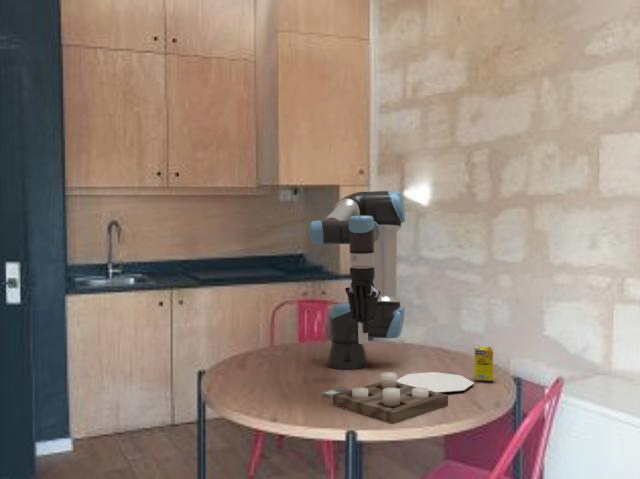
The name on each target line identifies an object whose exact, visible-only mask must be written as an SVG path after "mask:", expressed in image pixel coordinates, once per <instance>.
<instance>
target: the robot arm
mask: <svg viewBox="0 0 640 479" xmlns="http://www.w3.org/2000/svg"><path fill="white" fill-rule="evenodd" d="M405 222H406V209H405V204H404V199H403V195H402V193H401V192H399V191H394V190H381V191H380V190H379V191H357V192H354V193H350V194H348V195H346V196H344V197H343V198H341V199H340V200H338V201H337V202H336V203H335V206H334V207H333V211H331V212H330V213H329V215H328V216H326V217H325V218H324V219H323V220H320V219H319V220H313V221H311V223H310V225H309V229H308V230H309V232H308V234H309V239H310V243H312V244H315V245H321V246H322V245H348V246H349V266H351V267H350V268H349V279H350V280H351V282H350V285H349V286H348V287H345V289H344V290H345V293H346V295H347V298H348V301H345V302H340V303H336V304H334V305H333V306H332V307H331V312H330V313H331V314H330V315H331V316H330V327H331V346H330V350H329V353H328V356H327V358H326V365H327V366H328V367H329V368H332V369H336V370H337V369H338V370H339V369H340V370H355V369H362V368H366V367H367V366H368V365H369V364H368V363H369V361H368V360H369V359H368V355H367V353H366V350H365V349H366V348H365V346H364V344H368V343H369V339H370V338H371V339H387V340H388V339H398V338H399V337H400V336H401V334H402V330H403V326H404V320H405V307H404V306H402V305H401V301H400V299H398V298H397V252H398V251H397V246H398V245H397V243H398V242H397V241H398V240H397V238H398V237H397V234H398V231H399V230H400V229H401V228H402V224H403V223H405Z"/></svg>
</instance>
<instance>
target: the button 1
mask: <svg viewBox="0 0 640 479" xmlns="http://www.w3.org/2000/svg"><path fill="white" fill-rule="evenodd" d="M351 390H352V397H354V398H357V399H363V398H367V397H368V389H367V388H364V386H359V387H353V388H352V389H351Z"/></svg>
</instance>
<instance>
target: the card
mask: <svg viewBox="0 0 640 479" xmlns="http://www.w3.org/2000/svg"><path fill="white" fill-rule="evenodd" d="M349 390H350V389H348V388H345V387H338V388H334V389H329V390H326V391H322V392H320V395H321V394H323V395H325V396H324V397H327V396H329V397H328V398H330V397H332V398H331V399H333V395H334V394H338V393H341V392H345V391H349ZM323 395H322V396H323Z"/></svg>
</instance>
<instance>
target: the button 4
mask: <svg viewBox="0 0 640 479" xmlns="http://www.w3.org/2000/svg"><path fill="white" fill-rule="evenodd" d="M412 397H414V398H418V399H421V400H422V399H425V398H428V389H427V388H422V387H417V388H413V389H412Z"/></svg>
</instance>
